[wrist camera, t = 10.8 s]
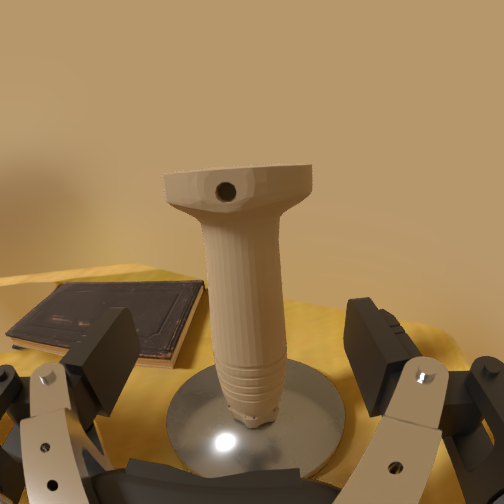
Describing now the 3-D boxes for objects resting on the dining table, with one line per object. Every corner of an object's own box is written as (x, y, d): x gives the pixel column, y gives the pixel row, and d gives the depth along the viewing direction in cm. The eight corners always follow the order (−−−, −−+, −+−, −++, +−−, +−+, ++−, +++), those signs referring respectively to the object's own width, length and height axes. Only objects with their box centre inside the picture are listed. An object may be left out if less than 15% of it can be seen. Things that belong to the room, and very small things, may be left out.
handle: (215, 384, 19) (185, 170, 15) (303, 388, 19) (308, 163, 14) (199, 434, 15) (143, 177, 10) (303, 441, 14) (317, 165, 9)
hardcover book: (175, 376, 23) (169, 357, 22) (12, 348, 24) (4, 333, 23) (206, 293, 38) (203, 278, 37) (71, 293, 39) (67, 280, 38)
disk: (138, 427, 16) (133, 417, 16) (242, 349, 25) (241, 339, 25) (278, 527, 9) (278, 522, 9) (367, 395, 18) (370, 385, 18)
